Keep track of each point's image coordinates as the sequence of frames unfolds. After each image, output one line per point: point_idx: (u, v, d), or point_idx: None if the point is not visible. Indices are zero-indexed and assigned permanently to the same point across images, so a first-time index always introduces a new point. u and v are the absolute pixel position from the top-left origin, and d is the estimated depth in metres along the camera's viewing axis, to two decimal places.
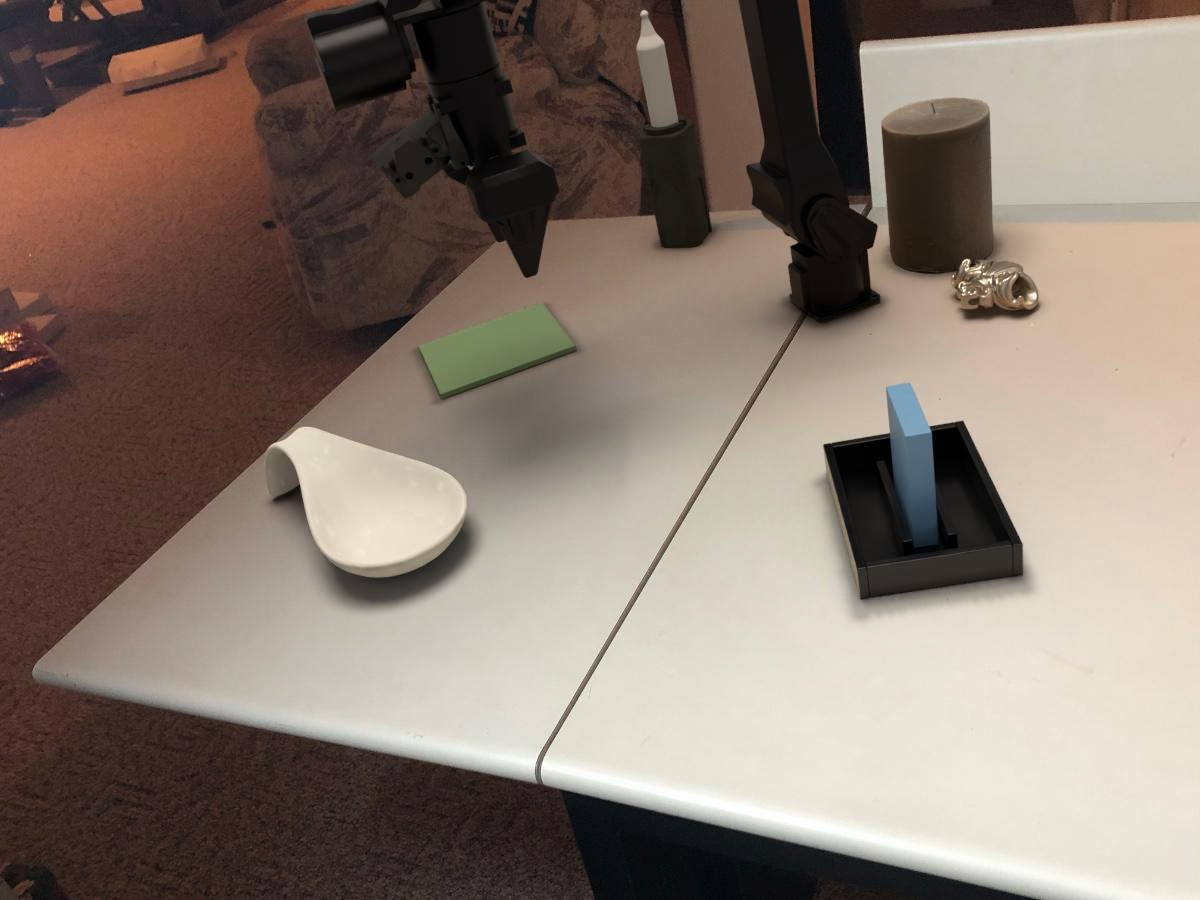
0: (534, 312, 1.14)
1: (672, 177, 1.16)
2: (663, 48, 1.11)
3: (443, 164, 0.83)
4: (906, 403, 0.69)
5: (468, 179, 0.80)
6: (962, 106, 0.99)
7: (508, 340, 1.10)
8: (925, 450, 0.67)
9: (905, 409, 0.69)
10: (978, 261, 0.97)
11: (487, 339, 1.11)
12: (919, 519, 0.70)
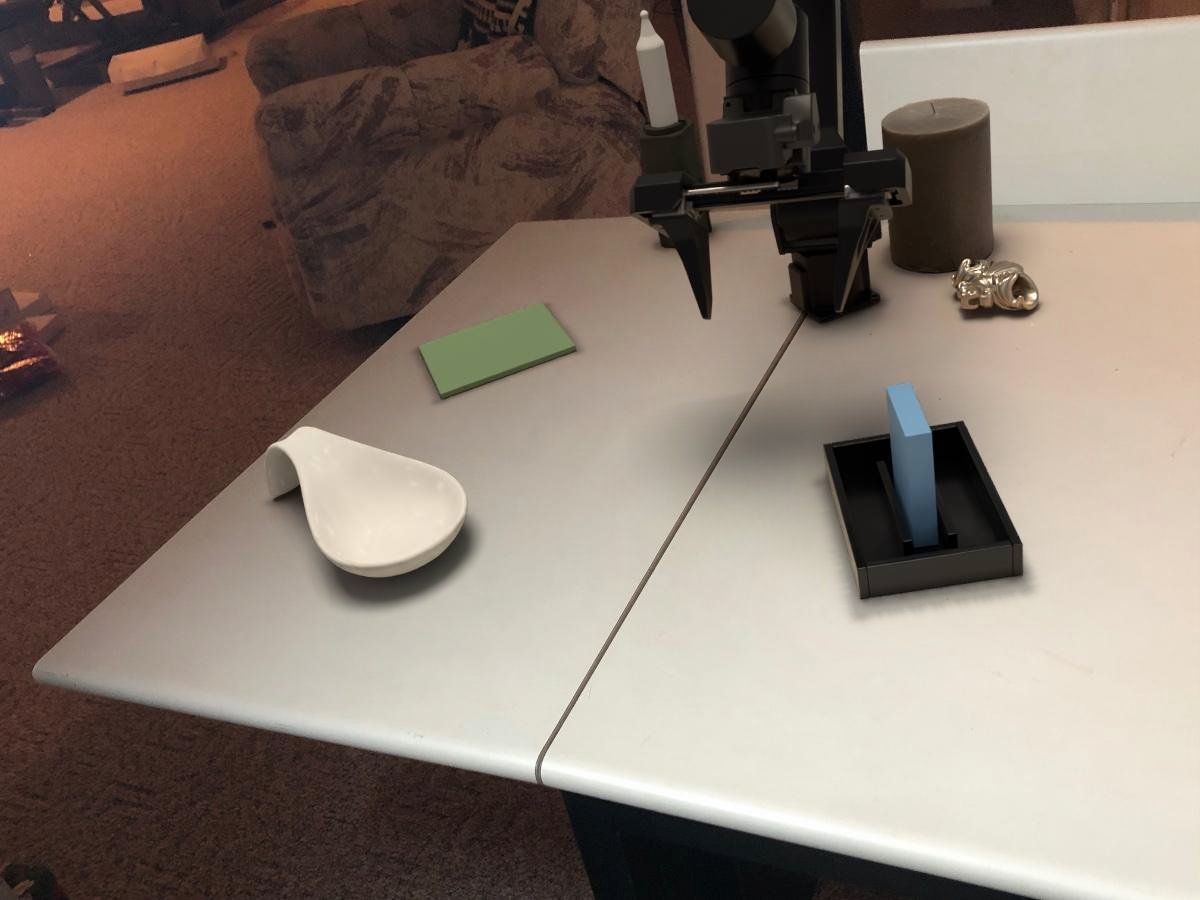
0: (534, 312, 1.14)
1: None
2: (663, 48, 1.11)
3: (792, 152, 0.70)
4: (906, 403, 0.69)
5: (851, 159, 0.70)
6: (962, 106, 0.99)
7: (508, 340, 1.10)
8: (925, 450, 0.67)
9: (905, 409, 0.69)
10: (978, 261, 0.97)
11: (487, 339, 1.11)
12: (919, 519, 0.70)
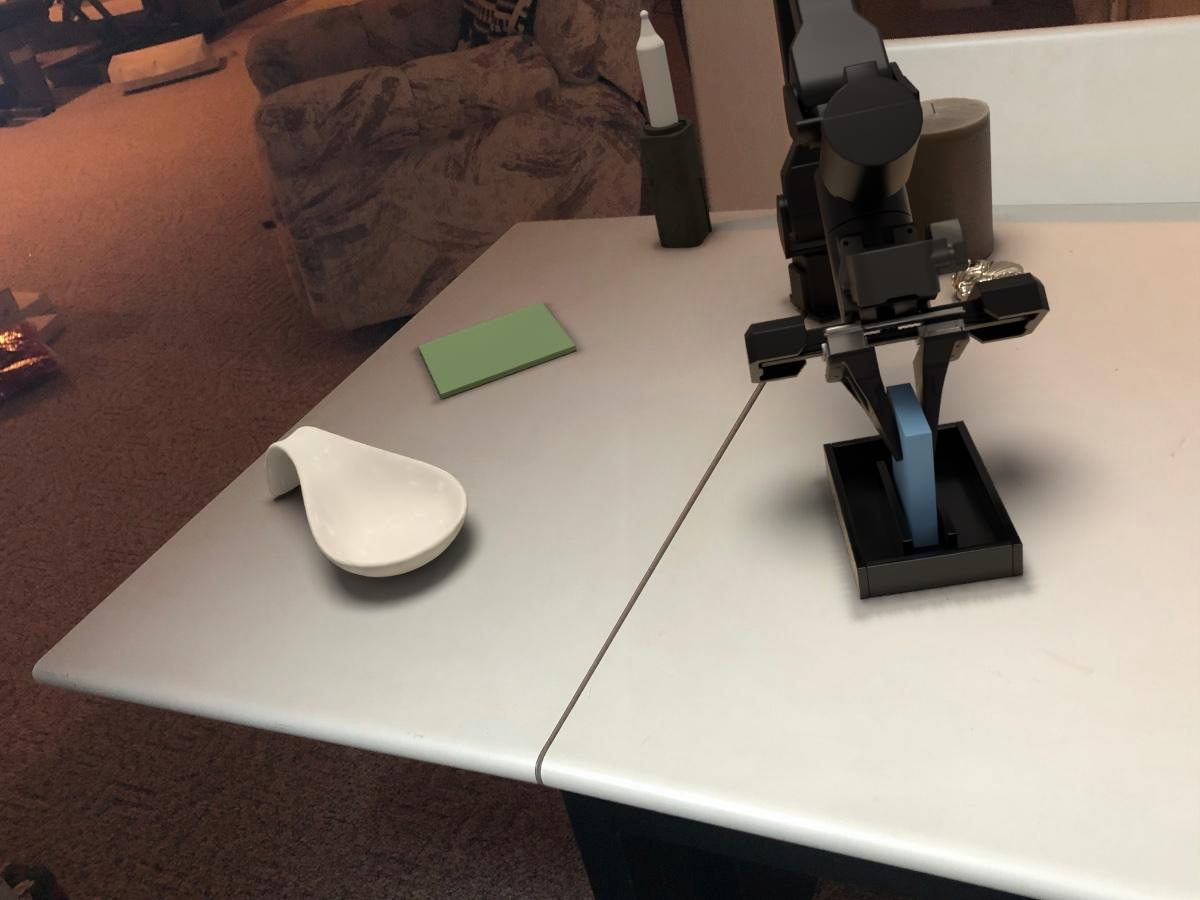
0: (534, 312, 1.14)
1: (672, 177, 1.16)
2: (663, 48, 1.11)
3: None
4: (906, 403, 0.69)
5: (987, 286, 0.68)
6: (962, 106, 0.99)
7: (508, 340, 1.10)
8: (925, 450, 0.67)
9: (905, 409, 0.69)
10: (978, 261, 0.97)
11: (487, 339, 1.11)
12: (919, 519, 0.70)
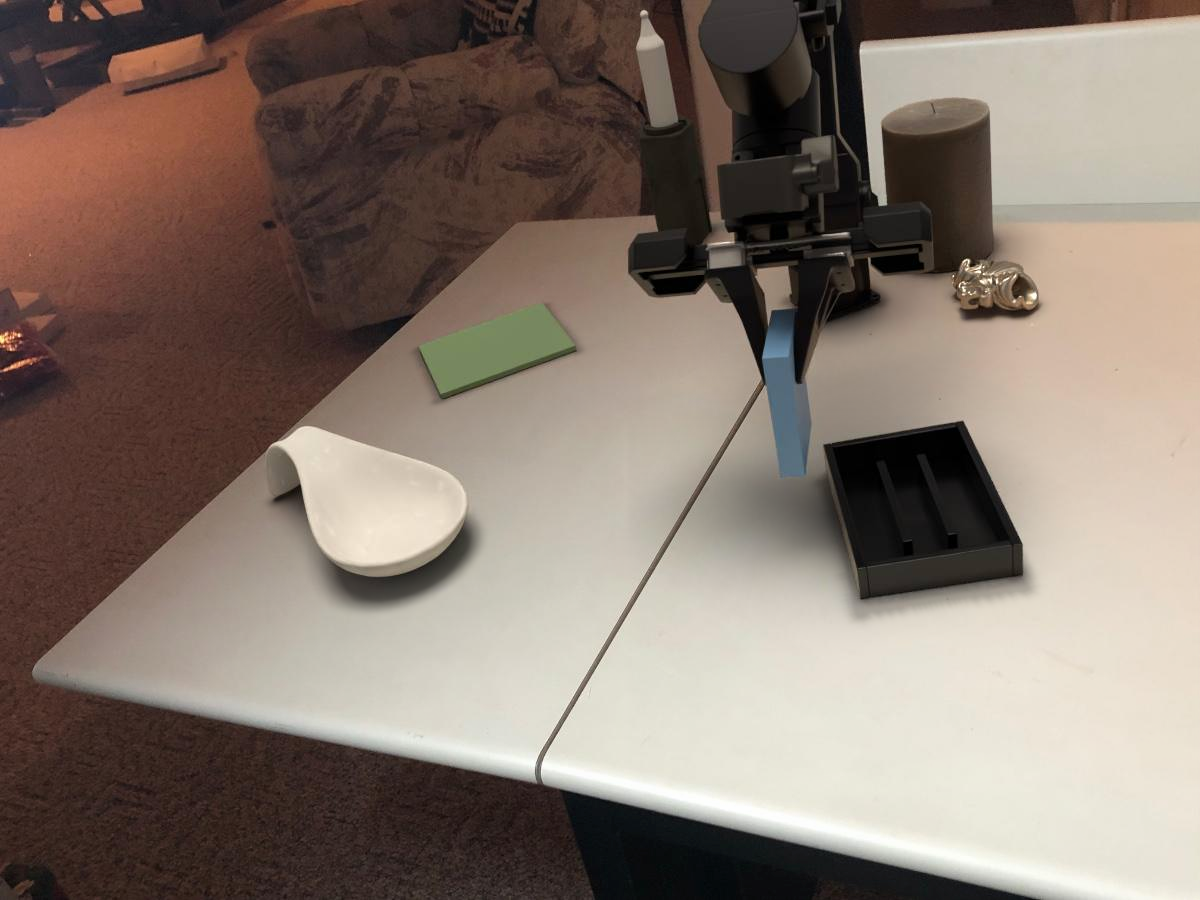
0: (534, 312, 1.14)
1: (672, 177, 1.16)
2: (663, 48, 1.11)
3: (808, 204, 0.65)
4: (781, 327, 0.68)
5: (871, 212, 0.65)
6: (962, 106, 0.99)
7: (508, 340, 1.10)
8: (783, 375, 0.65)
9: (777, 332, 0.67)
10: (978, 261, 0.97)
11: (487, 339, 1.11)
12: (783, 447, 0.68)
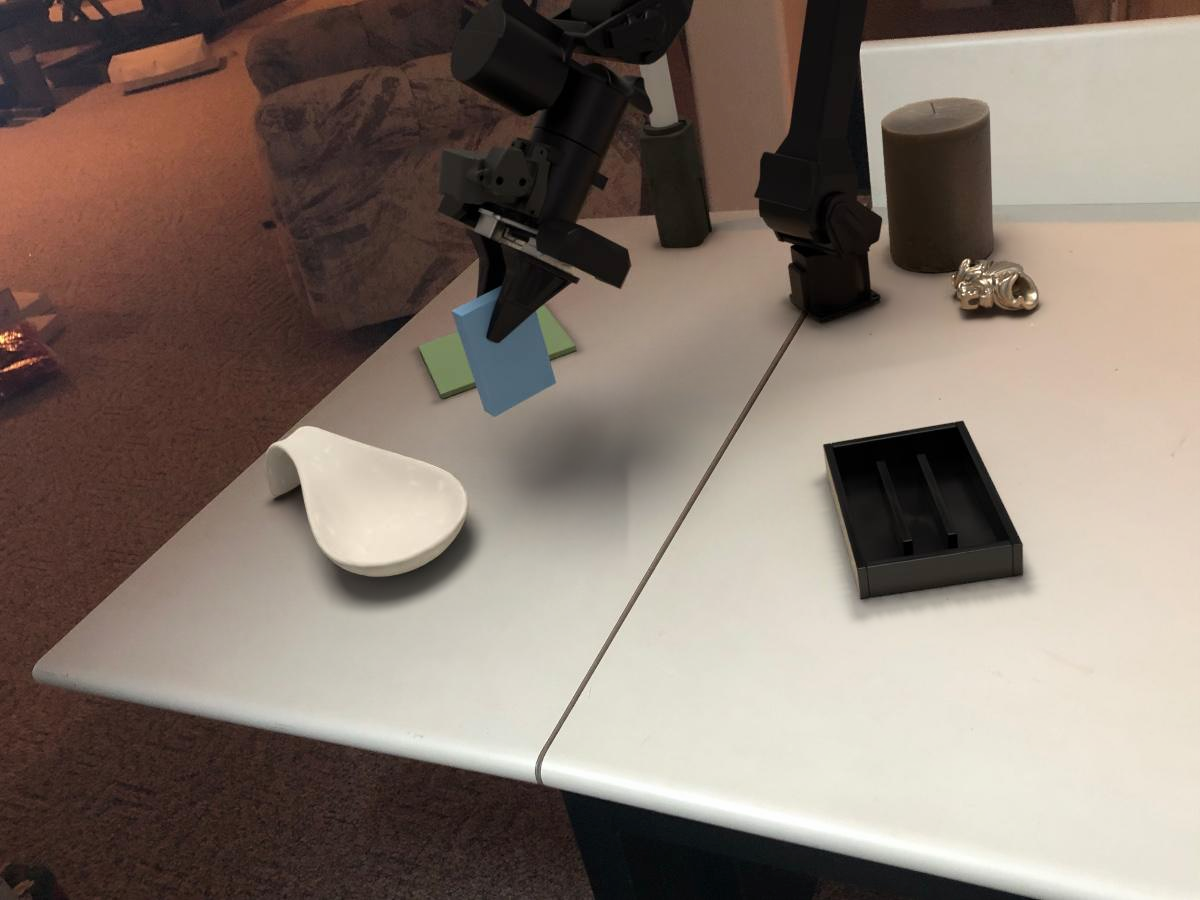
0: None
1: (672, 177, 1.16)
2: None
3: (515, 200, 0.77)
4: (496, 293, 0.81)
5: (550, 222, 0.75)
6: (962, 106, 0.99)
7: None
8: (463, 329, 0.80)
9: (488, 296, 0.81)
10: (978, 261, 0.97)
11: None
12: (478, 387, 0.84)
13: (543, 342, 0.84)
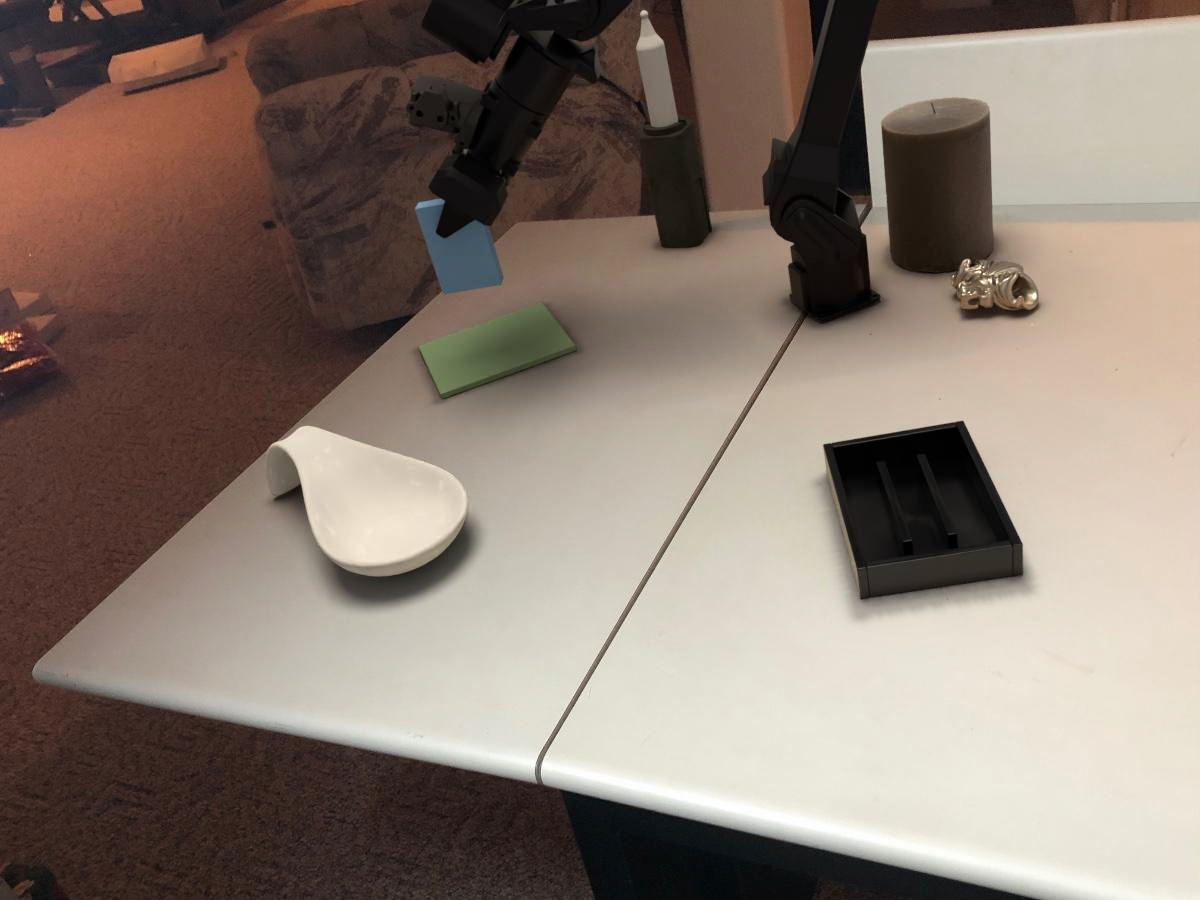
0: (534, 312, 1.14)
1: (672, 177, 1.16)
2: (663, 48, 1.11)
3: (450, 130, 0.95)
4: None
5: (449, 156, 0.93)
6: (962, 106, 0.99)
7: (508, 340, 1.10)
8: None
9: None
10: (978, 261, 0.97)
11: (487, 339, 1.11)
12: None
13: (489, 249, 1.03)
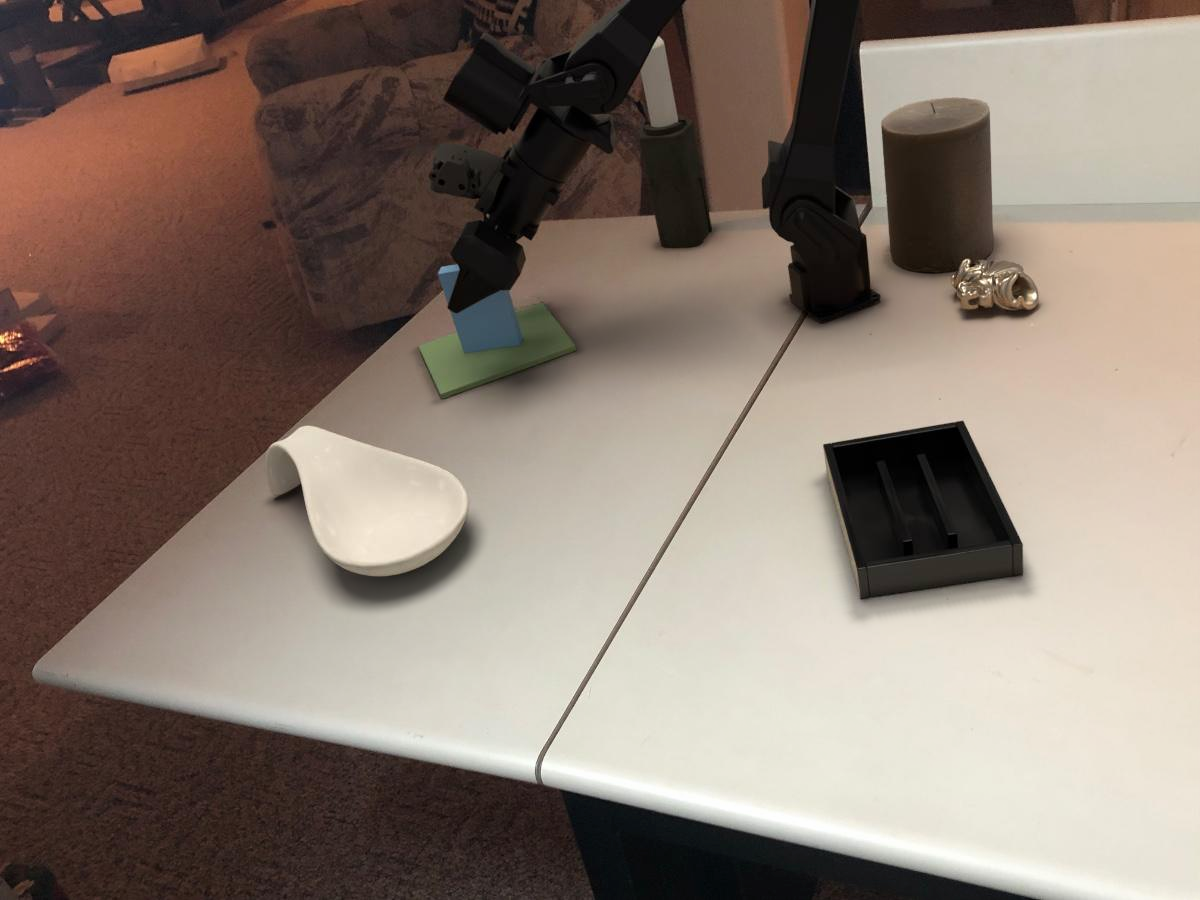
0: (534, 312, 1.14)
1: (672, 177, 1.16)
2: (663, 48, 1.11)
3: (471, 196, 0.98)
4: None
5: (470, 223, 0.96)
6: (962, 106, 0.99)
7: None
8: None
9: None
10: (978, 261, 0.97)
11: None
12: None
13: (509, 311, 1.07)
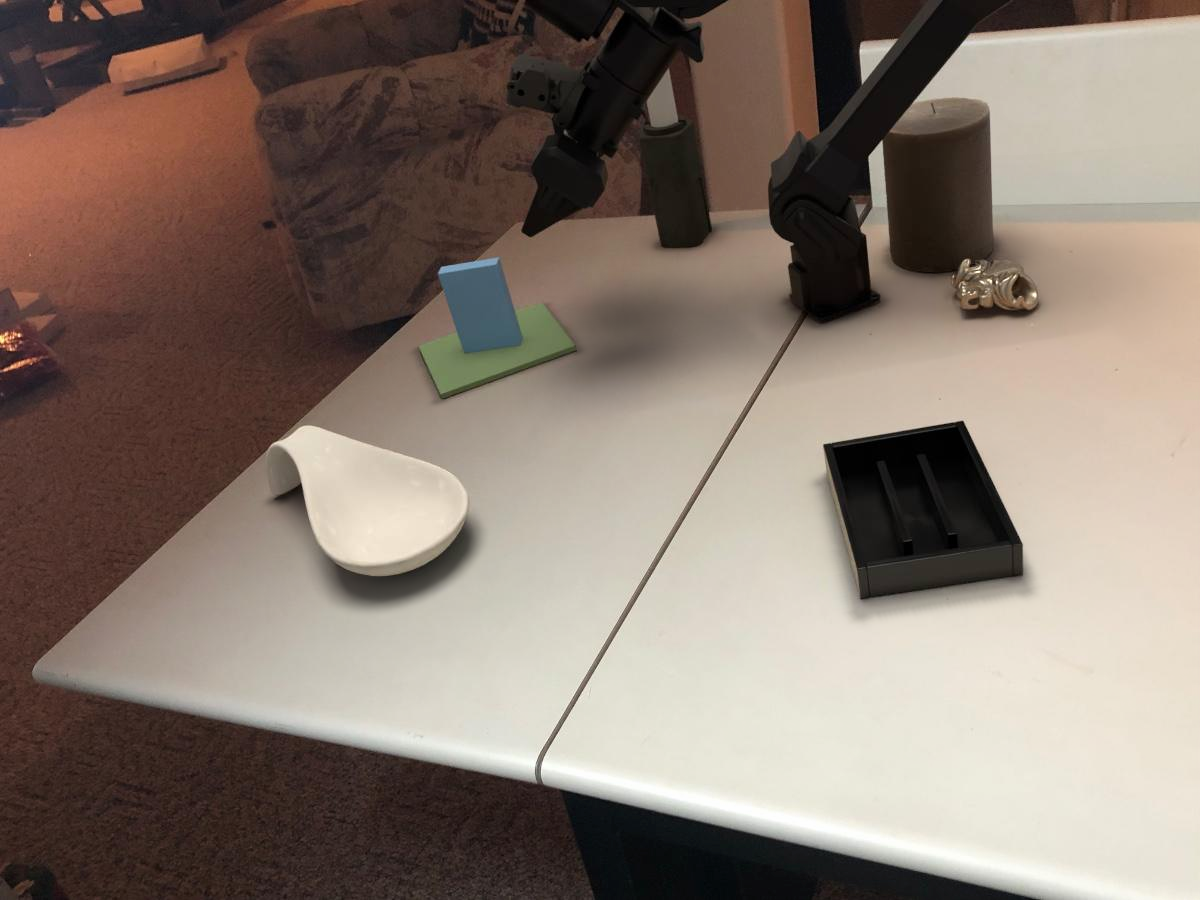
0: (534, 312, 1.14)
1: (672, 177, 1.16)
2: None
3: (549, 110, 0.93)
4: (473, 264, 1.05)
5: (551, 136, 0.91)
6: (962, 106, 0.99)
7: None
8: None
9: (468, 264, 1.05)
10: (978, 261, 0.97)
11: None
12: None
13: (509, 311, 1.07)
